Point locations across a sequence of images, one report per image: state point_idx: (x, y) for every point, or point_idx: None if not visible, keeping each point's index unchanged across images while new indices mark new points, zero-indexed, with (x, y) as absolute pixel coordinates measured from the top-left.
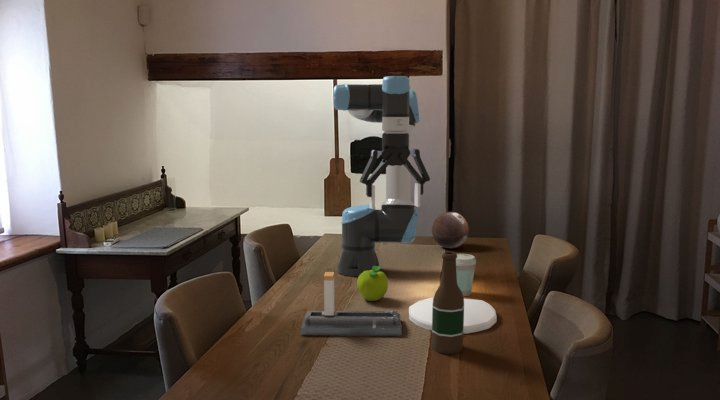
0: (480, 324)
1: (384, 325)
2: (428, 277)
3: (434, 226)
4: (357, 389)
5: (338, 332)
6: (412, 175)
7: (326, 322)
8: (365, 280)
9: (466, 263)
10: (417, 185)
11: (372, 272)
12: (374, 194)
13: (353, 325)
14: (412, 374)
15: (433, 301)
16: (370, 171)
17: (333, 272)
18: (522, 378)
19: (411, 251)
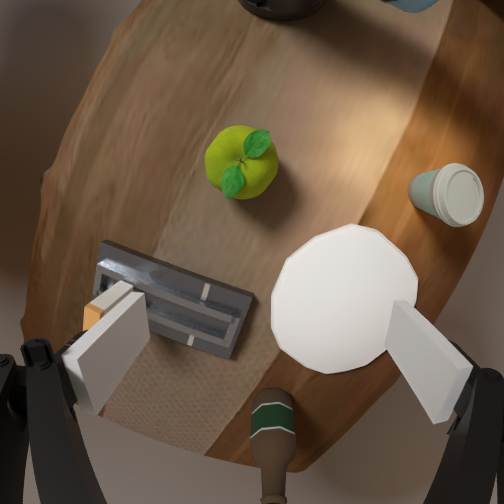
0: (351, 369)
1: (207, 341)
2: (404, 73)
3: None
4: (150, 433)
5: None
6: (467, 423)
7: None
8: (214, 182)
9: (454, 225)
10: (434, 409)
11: (229, 184)
12: (117, 381)
13: (161, 324)
14: (206, 433)
15: (250, 444)
16: (20, 472)
17: (98, 317)
18: (304, 458)
19: None
